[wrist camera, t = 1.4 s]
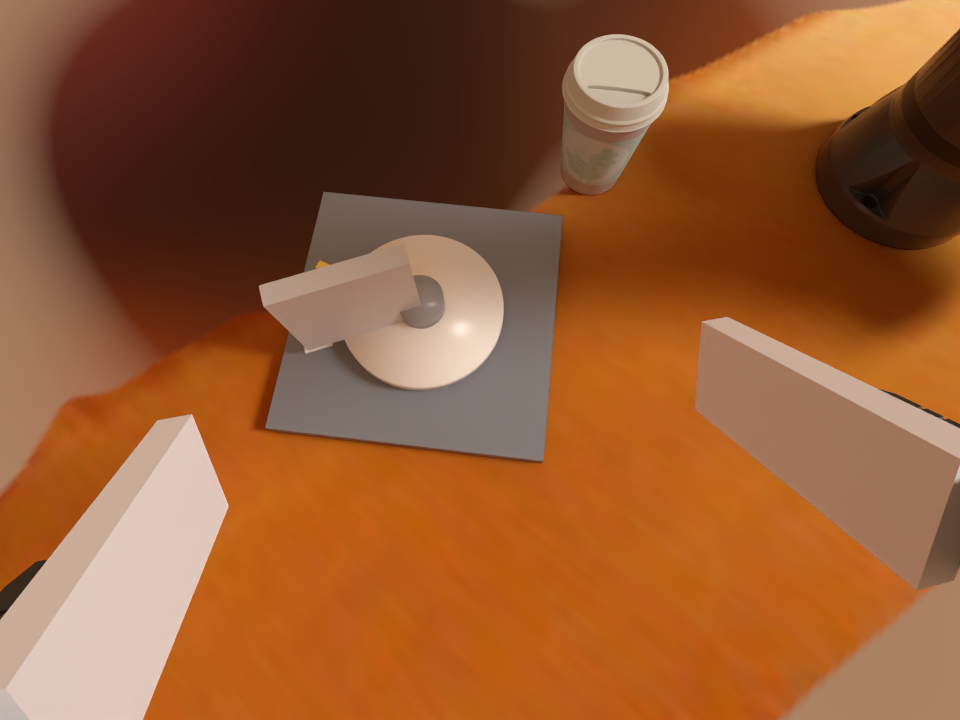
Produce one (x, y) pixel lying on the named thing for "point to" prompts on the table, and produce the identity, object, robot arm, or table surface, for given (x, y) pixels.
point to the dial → (399, 310)
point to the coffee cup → (609, 108)
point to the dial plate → (462, 406)
